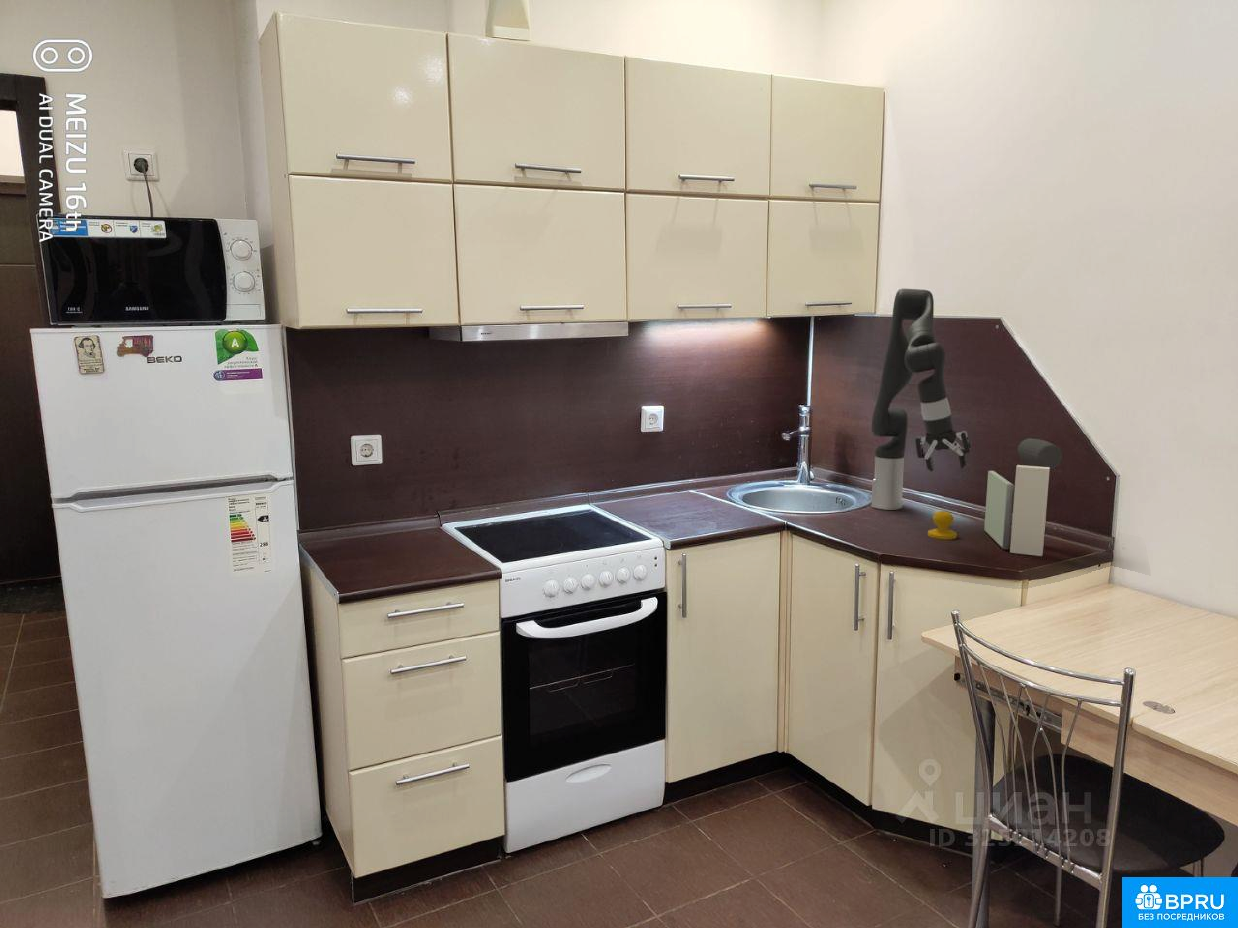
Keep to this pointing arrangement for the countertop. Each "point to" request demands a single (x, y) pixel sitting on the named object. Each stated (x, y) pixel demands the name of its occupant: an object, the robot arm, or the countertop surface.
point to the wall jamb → (1029, 510)
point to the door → (999, 509)
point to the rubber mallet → (1039, 453)
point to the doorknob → (942, 526)
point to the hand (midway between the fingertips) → (947, 468)
